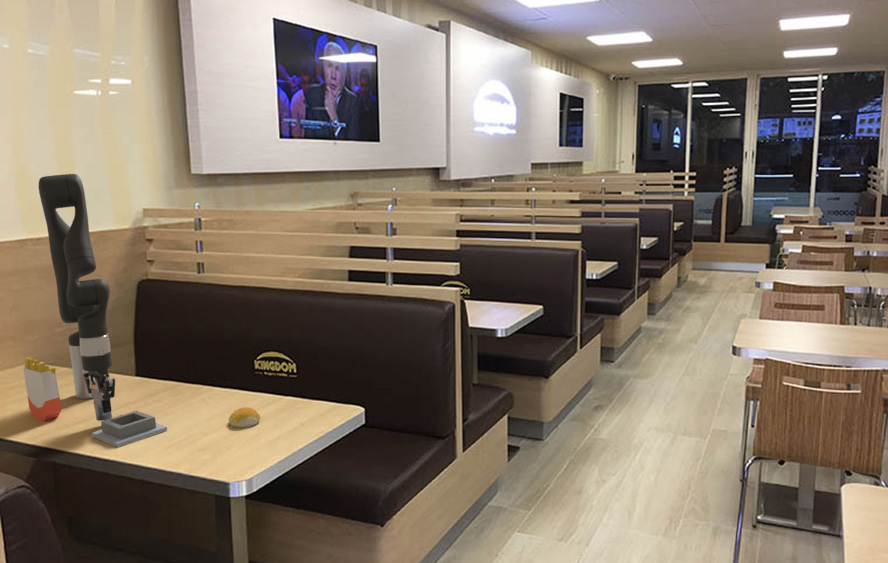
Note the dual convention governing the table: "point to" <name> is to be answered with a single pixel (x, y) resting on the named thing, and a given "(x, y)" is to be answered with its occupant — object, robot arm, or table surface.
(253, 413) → the bread roll
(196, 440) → the table surface
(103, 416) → the cylinder
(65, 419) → the table surface
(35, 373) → the french fries container
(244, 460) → the table surface
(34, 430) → the table surface
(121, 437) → the socket
